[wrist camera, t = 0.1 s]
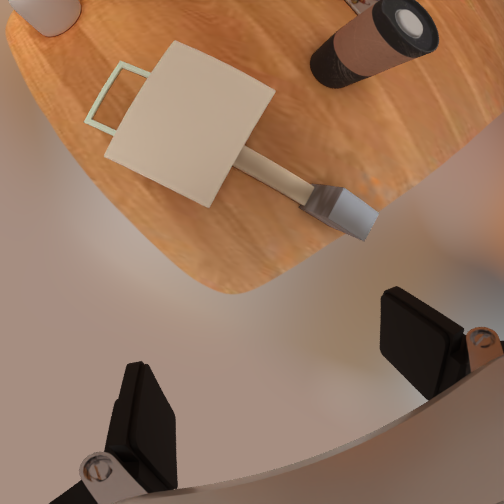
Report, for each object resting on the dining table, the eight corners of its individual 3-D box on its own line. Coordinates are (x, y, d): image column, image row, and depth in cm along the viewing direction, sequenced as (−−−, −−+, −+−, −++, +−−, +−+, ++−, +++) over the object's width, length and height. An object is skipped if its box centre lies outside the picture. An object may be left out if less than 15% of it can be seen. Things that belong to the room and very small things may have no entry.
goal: (120, 61, 31) (120, 60, 30) (166, 80, 33) (166, 79, 33) (84, 122, 32) (83, 122, 32) (129, 143, 34) (128, 143, 34)
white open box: (177, 68, 33) (174, 40, 24) (256, 108, 37) (276, 91, 28) (124, 159, 35) (103, 156, 26) (205, 200, 39) (209, 208, 30)
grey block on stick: (210, 125, 36) (215, 109, 27) (342, 203, 43) (379, 213, 33) (195, 150, 37) (195, 143, 27) (329, 226, 43) (364, 241, 34)
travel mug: (360, 78, 38) (449, 44, 19) (328, 98, 38) (417, 62, 19) (332, 41, 35) (409, -13, 16) (298, 58, 35) (370, -3, 17)
